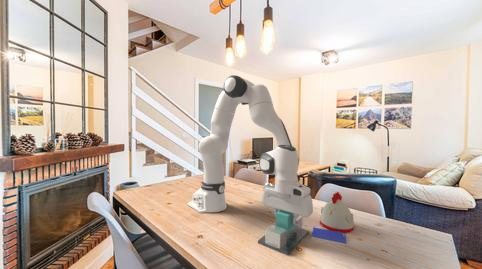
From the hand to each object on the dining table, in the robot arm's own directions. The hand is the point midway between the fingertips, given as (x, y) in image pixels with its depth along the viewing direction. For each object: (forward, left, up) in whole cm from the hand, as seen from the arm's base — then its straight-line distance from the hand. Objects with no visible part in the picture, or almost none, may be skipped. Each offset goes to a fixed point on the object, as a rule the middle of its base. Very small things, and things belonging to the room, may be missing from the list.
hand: (285, 221), depth 81 cm
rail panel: (0, 0, -6) cm, 6 cm away
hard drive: (+13, +12, -7) cm, 19 cm away
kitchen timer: (+13, +25, -7) cm, 29 cm away
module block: (0, 0, -2) cm, 2 cm away
